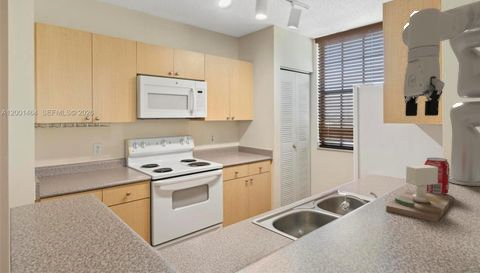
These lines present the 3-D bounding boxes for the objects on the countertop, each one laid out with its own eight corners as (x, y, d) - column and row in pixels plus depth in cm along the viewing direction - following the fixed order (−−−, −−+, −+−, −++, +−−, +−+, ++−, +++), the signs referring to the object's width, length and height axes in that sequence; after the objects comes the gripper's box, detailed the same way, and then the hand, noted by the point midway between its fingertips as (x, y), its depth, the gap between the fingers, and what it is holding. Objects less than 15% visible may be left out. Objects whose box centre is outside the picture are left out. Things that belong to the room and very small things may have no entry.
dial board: (408, 194, 92) (408, 186, 92) (452, 201, 83) (453, 193, 83) (386, 210, 77) (386, 202, 77) (436, 222, 68) (437, 212, 68)
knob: (404, 198, 81) (405, 165, 81) (425, 197, 82) (426, 164, 82) (429, 208, 73) (430, 172, 72) (452, 207, 74) (454, 170, 73)
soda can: (439, 190, 95) (441, 157, 94) (453, 196, 88) (455, 160, 87) (419, 190, 96) (420, 157, 95) (431, 196, 89) (432, 160, 88)
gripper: (394, 62, 85) (392, 116, 86) (428, 48, 68) (425, 115, 69) (419, 62, 84) (416, 116, 85) (459, 47, 67) (456, 115, 68)
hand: (420, 115), depth 77 cm, fingers open, 9 cm apart
